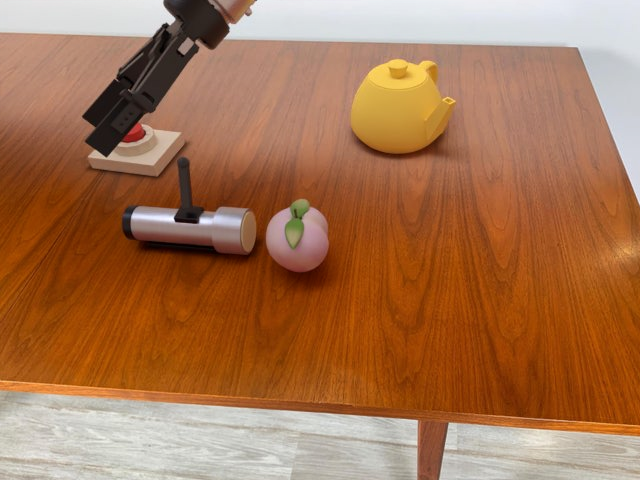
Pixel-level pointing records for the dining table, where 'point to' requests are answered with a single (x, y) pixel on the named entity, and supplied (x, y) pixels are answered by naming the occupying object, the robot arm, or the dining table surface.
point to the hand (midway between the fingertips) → (93, 135)
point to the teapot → (400, 107)
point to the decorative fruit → (298, 237)
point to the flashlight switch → (185, 182)
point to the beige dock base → (141, 153)
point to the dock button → (134, 134)
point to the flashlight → (192, 228)
